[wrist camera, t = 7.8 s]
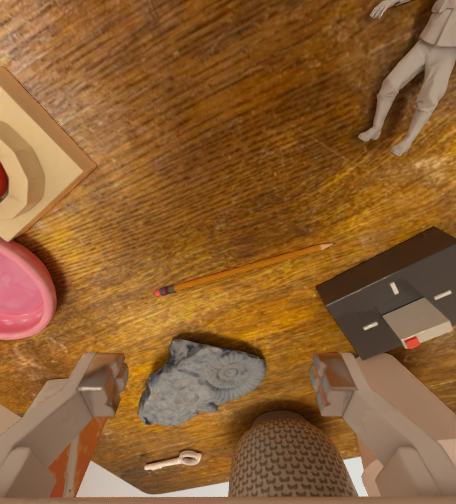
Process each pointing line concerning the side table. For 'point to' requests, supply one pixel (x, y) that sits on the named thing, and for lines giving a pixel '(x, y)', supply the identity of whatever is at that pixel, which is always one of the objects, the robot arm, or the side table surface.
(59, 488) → the small box
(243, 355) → the fossil
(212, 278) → the pencil
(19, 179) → the button box
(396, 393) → the pale flower pot
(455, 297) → the switch housing
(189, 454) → the key
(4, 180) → the stop button
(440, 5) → the soldier figure
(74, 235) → the side table surface
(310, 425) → the planter
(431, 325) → the stove knob
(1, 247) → the saucer
